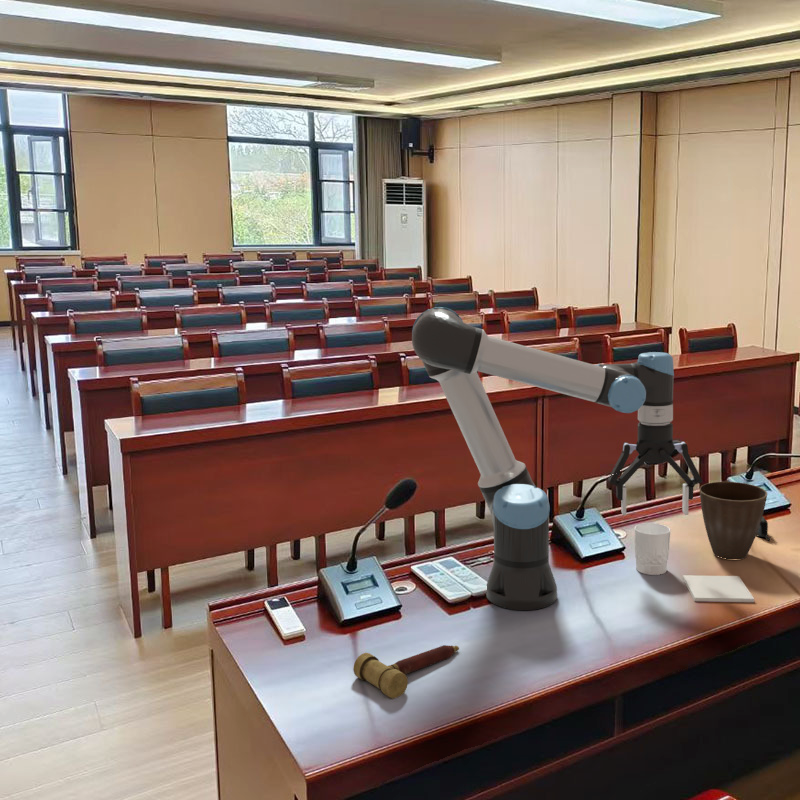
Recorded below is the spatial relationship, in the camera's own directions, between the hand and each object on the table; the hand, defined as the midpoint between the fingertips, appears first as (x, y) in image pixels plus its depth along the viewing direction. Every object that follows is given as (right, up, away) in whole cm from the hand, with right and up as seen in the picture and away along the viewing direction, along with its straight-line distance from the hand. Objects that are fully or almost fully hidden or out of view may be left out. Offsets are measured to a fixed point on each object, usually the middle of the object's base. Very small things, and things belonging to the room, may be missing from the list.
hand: (654, 513), depth 194 cm
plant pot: (+21, -11, +10) cm, 26 cm away
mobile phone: (+33, -8, +25) cm, 43 cm away
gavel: (-55, -24, -39) cm, 71 cm away
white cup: (0, -14, +3) cm, 14 cm away
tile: (+11, -15, -10) cm, 21 cm away
